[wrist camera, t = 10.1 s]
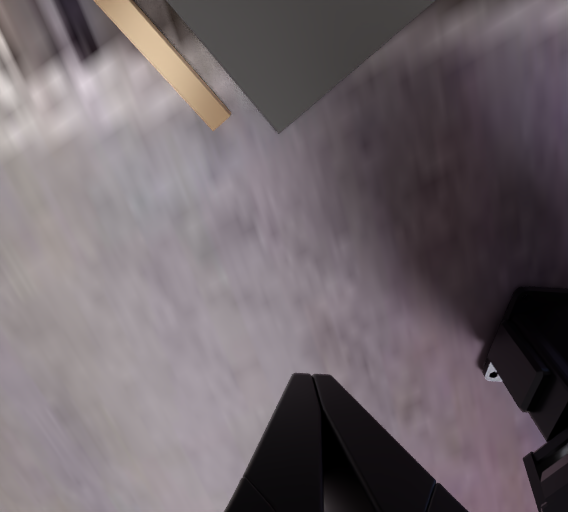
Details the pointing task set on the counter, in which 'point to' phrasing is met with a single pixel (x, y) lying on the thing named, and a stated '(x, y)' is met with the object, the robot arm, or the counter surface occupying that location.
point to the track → (166, 60)
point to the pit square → (293, 44)
